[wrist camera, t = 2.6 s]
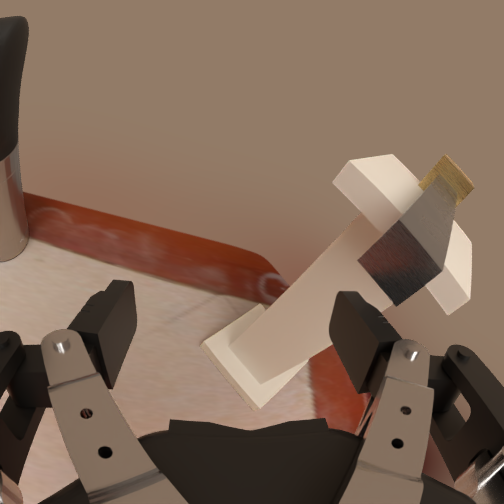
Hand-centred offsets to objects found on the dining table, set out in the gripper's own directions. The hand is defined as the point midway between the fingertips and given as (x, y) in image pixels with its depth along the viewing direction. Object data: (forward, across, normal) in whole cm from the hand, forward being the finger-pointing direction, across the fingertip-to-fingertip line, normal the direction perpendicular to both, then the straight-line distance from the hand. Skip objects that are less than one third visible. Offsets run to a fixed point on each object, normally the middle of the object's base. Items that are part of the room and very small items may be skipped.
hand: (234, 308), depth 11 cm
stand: (+24, -5, +23) cm, 34 cm away
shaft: (+7, -13, -3) cm, 15 cm away
